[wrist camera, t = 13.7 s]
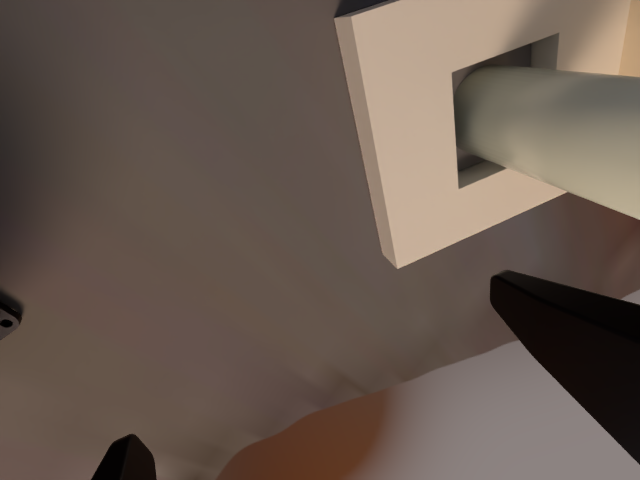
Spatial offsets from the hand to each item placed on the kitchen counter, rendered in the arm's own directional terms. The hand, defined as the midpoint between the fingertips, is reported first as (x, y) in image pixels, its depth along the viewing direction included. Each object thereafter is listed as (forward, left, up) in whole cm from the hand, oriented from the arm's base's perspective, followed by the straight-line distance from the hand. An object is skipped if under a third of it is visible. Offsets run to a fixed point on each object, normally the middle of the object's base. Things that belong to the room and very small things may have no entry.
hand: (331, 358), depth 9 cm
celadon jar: (+14, -5, -13) cm, 20 cm away
